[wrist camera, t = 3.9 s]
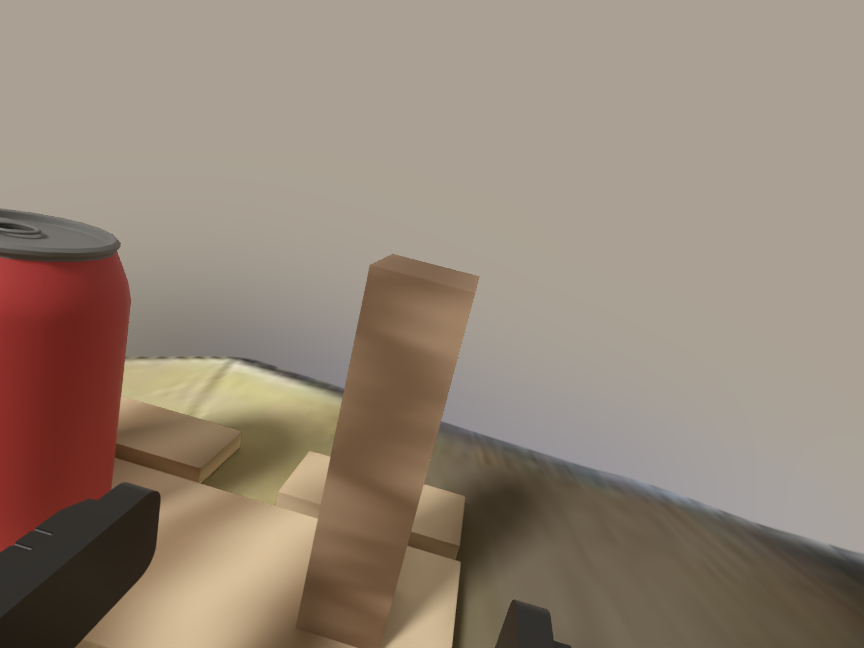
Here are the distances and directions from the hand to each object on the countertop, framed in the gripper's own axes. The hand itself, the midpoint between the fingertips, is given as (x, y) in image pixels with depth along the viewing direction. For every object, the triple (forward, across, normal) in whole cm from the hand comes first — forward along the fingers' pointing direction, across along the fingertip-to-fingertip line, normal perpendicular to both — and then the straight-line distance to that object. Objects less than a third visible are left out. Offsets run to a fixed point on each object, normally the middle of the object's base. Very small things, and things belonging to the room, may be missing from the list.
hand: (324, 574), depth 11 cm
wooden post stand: (+6, +7, +8) cm, 12 cm away
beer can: (+6, +14, +8) cm, 17 cm away
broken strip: (+13, +7, +8) cm, 17 cm away
